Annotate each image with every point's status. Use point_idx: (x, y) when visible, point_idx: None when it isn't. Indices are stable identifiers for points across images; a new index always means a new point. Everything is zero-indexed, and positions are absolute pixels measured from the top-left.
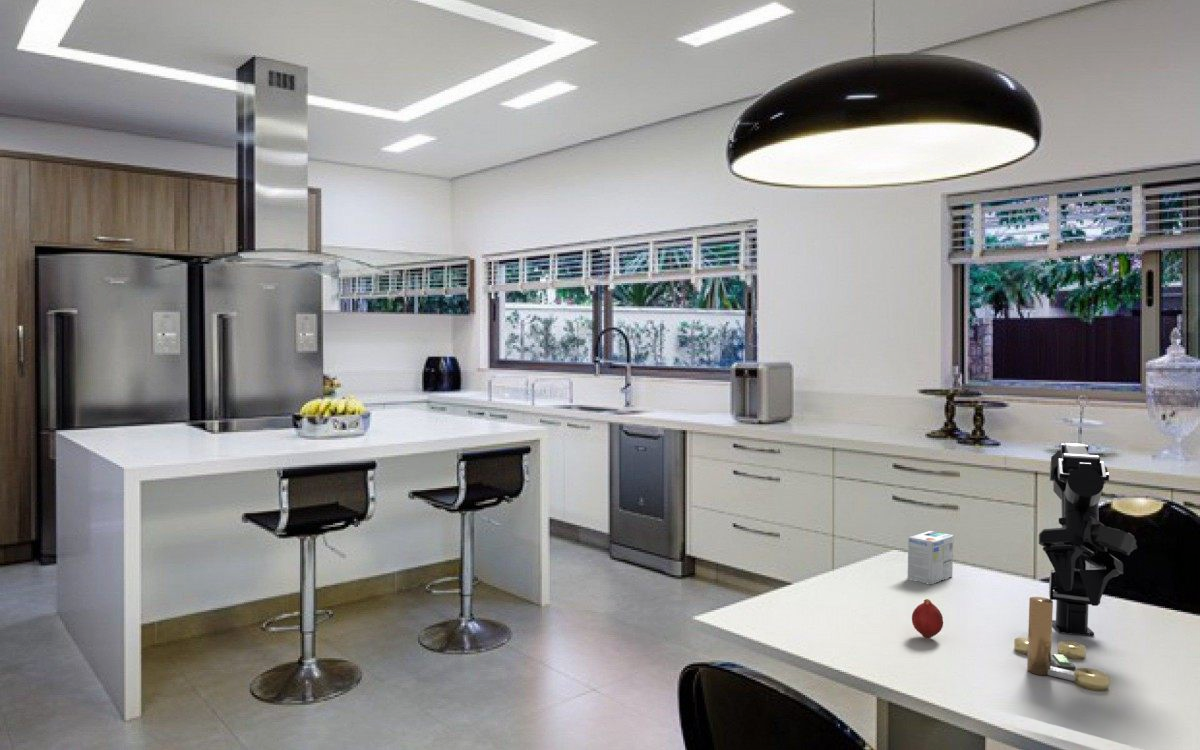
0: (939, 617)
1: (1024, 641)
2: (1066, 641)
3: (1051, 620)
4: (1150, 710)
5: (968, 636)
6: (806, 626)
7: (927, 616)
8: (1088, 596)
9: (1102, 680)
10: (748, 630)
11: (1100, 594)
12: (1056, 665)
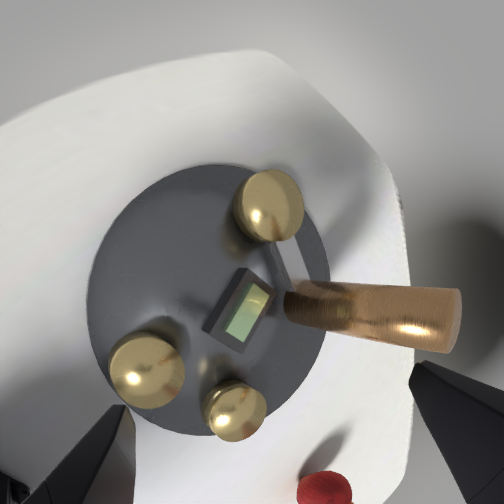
0: (333, 485)
1: (246, 419)
2: (137, 404)
3: (405, 288)
4: (225, 106)
5: (237, 495)
6: (368, 486)
7: (347, 482)
8: (134, 476)
9: (284, 173)
10: (400, 463)
11: (93, 452)
12: (274, 294)
